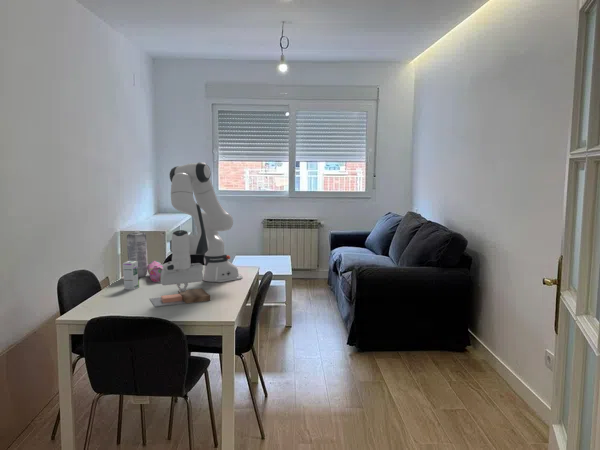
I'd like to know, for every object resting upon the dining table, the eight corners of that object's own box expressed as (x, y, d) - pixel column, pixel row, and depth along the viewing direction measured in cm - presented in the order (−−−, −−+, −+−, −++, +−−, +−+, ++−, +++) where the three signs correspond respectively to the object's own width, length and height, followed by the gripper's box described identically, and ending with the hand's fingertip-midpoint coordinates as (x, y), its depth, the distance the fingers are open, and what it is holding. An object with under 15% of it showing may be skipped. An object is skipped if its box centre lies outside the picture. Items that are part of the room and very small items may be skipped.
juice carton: (146, 277, 304) (144, 231, 301) (128, 278, 302) (125, 232, 299) (148, 274, 313) (146, 229, 309) (130, 275, 311) (128, 230, 308)
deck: (201, 293, 265) (201, 288, 264) (210, 300, 250) (210, 295, 250) (178, 295, 260) (178, 290, 259) (185, 303, 245) (185, 298, 245)
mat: (178, 295, 260) (178, 295, 260) (185, 303, 245) (185, 302, 245) (149, 299, 254) (149, 298, 254) (155, 307, 239) (155, 306, 239)
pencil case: (166, 281, 292) (165, 266, 291) (149, 283, 290) (148, 267, 288) (163, 274, 313) (162, 259, 311) (147, 275, 310) (146, 260, 309)
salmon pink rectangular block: (179, 297, 255) (179, 293, 255) (182, 300, 250) (182, 296, 249) (161, 299, 251) (161, 295, 251) (163, 302, 246) (163, 298, 246)
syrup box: (134, 289, 274) (132, 262, 272) (123, 289, 275) (122, 262, 273) (139, 287, 279) (138, 260, 278) (129, 286, 280) (128, 260, 279)
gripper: (200, 261, 258) (201, 288, 259) (159, 265, 249) (160, 293, 251) (204, 263, 252) (205, 291, 254) (161, 267, 244) (162, 296, 245)
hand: (182, 292), depth 252 cm, fingers closed
